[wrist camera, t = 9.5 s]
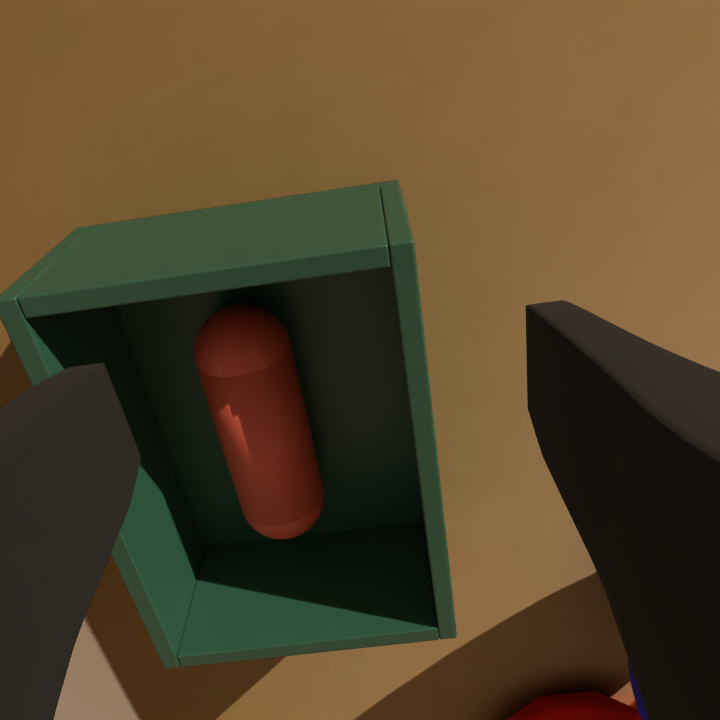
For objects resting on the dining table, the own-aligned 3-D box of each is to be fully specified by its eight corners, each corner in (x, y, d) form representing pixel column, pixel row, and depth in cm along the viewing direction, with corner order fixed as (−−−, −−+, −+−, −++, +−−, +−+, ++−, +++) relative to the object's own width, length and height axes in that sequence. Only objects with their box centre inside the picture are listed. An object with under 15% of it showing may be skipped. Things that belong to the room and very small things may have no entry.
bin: (196, 550, 27) (164, 669, 23) (75, 227, 20) (-9, 301, 16) (437, 522, 27) (457, 638, 22) (398, 179, 20) (413, 240, 15)
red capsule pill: (341, 502, 25) (313, 562, 22) (270, 494, 26) (236, 552, 23) (295, 287, 20) (254, 333, 18) (212, 288, 21) (162, 331, 19)
